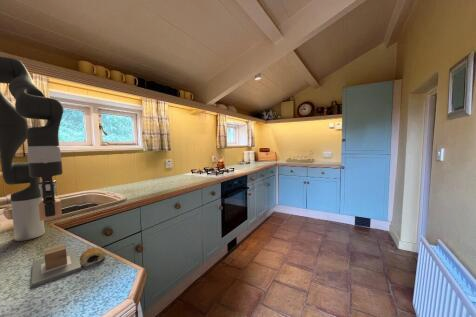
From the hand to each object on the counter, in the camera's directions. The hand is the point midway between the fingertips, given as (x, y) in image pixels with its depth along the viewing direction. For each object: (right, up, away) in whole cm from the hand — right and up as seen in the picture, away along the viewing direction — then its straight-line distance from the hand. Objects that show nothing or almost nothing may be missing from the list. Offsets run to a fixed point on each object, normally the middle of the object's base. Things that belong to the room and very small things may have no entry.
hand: (50, 213), depth 63 cm
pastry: (+9, -18, +5) cm, 21 cm away
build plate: (+1, -18, +1) cm, 18 cm away
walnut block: (+1, -17, +1) cm, 17 cm away
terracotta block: (0, -1, 0) cm, 1 cm away
